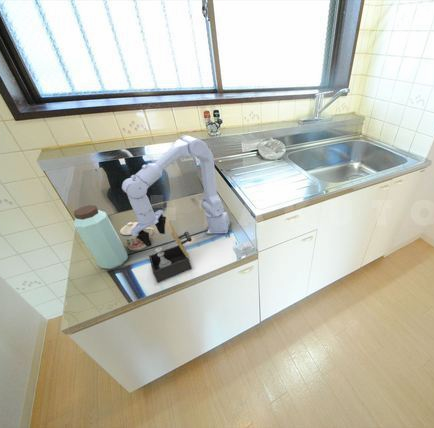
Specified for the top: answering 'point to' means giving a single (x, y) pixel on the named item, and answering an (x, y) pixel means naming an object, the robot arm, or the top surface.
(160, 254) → the chess piece
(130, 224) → the teacup with lid
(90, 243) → the water bottle
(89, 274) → the top surface
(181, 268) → the black open-top bin
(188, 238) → the tan elongated piece
